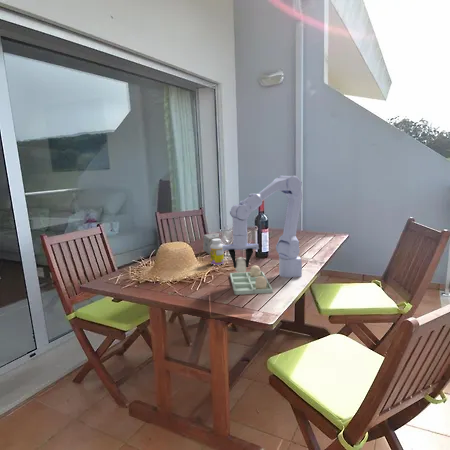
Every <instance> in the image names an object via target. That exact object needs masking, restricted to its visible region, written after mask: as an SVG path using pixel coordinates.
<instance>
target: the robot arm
mask: <svg viewBox="0 0 450 450" xmlns="http://www.w3.org/2000/svg"><path fill="white" fill-rule="evenodd" d="M278 191H280V192H282V193H283V194H284V195H285V196H286V197H287V199H288V200H287V205H286V206H287V207H286V213H285V217H284V218H285V221H284V225H283V226H284V227H283V233H282V235H280V236H279V237H278V241H277V243H276V245H275V251H276V252H277V253H278V261H279V263H278V267H279V268H278V269H279V270H278V271H279V272H278V273H279V274H278V276H280V277H281V278H288V279H289V278H296V277H302V275H303V274H302V273H303V265H302V264H303V263H302V258H301V257H300V256H299V255H300V241H299V239H298V237H297V230H298V223H299V219H300V218H299V217H300V212H301V205H302V199H303V191H302V180H301V179H300V178H299V176H297V175H279V176H277V177H276V178H274V179H273V180H272V181H271V182H270V183H269V184H268V185H267V186H265V187H264V188H263V189H262V190H260V191H259V192H258V193H255V192H253V193H249V194H248V196H247V197H246V198H244V199H243V200H240V201H239V203H236V204H233V205H232V207H231V209H230V210H229V215H230V216H231V218H232V243H231V244H223V245H222V249H223V252H225V251H228V253H229V255H230V258H231V259H232V265H233V268H234V269H236V251H240V250H243V251H244V250H245V260H246V268H249V264H250V261H251V257H252V255H253V253H254V250H259V249H260V247H259V243H248V218H249V217H250V215H251V213H252V212H254V211H256V209H258V208H259V207H261V206H262V204H263V201H264V200H266V199H267V198H268V197H270V196H271V195H273V194H275V193H276V192H278Z"/></svg>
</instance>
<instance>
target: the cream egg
mask: <svg viewBox="0 0 450 450" xmlns="http://www.w3.org/2000/svg"><path fill="white" fill-rule="evenodd" d="M235 262H236V268H235V272H236V273H239V272H247V267H246V258H244V257H237V258H235Z"/></svg>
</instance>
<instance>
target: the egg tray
mask: <svg viewBox="0 0 450 450" xmlns="http://www.w3.org/2000/svg"><path fill="white" fill-rule="evenodd" d="M260 271H261V276H263V277H265V278H266V280H267V289H256V287H255V281H256V278H257V277H250V271H245V272H229V279H230V281H231V284H232V290H233V293H234V295H237V296H238V295H239V296H240V295H255V294H271V293H274V292H273V291H274V288H273V287H272V285H271V283H270V282H269V280H268V278H267V276H266V275H265V273H264V271H262V270H260Z"/></svg>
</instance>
